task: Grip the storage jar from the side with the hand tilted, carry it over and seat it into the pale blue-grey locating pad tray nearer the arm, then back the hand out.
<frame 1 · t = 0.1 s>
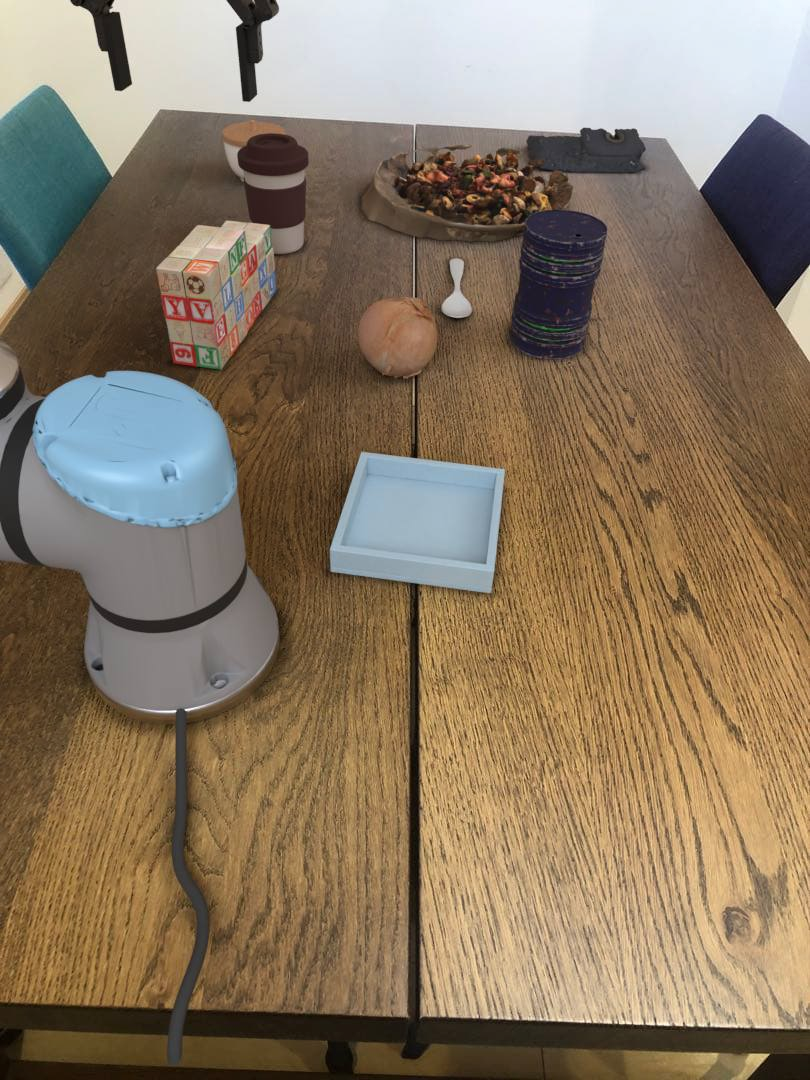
hand: (186, 93, 85), 28 cm above the table, tool pointing down, fingers open, 13 cm apart
trinket box: (257, 179, 144), on the table
stack of blocks: (229, 326, 106), on the table
coffee cup: (279, 246, 124), on the table
food dish: (464, 205, 138), on the table
pad tray: (421, 528, 79), on the table
spoon: (456, 292, 115), on the table
dark slate chunk: (583, 159, 157), on the table
onion: (396, 370, 100), on the table
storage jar: (546, 341, 106), on the table
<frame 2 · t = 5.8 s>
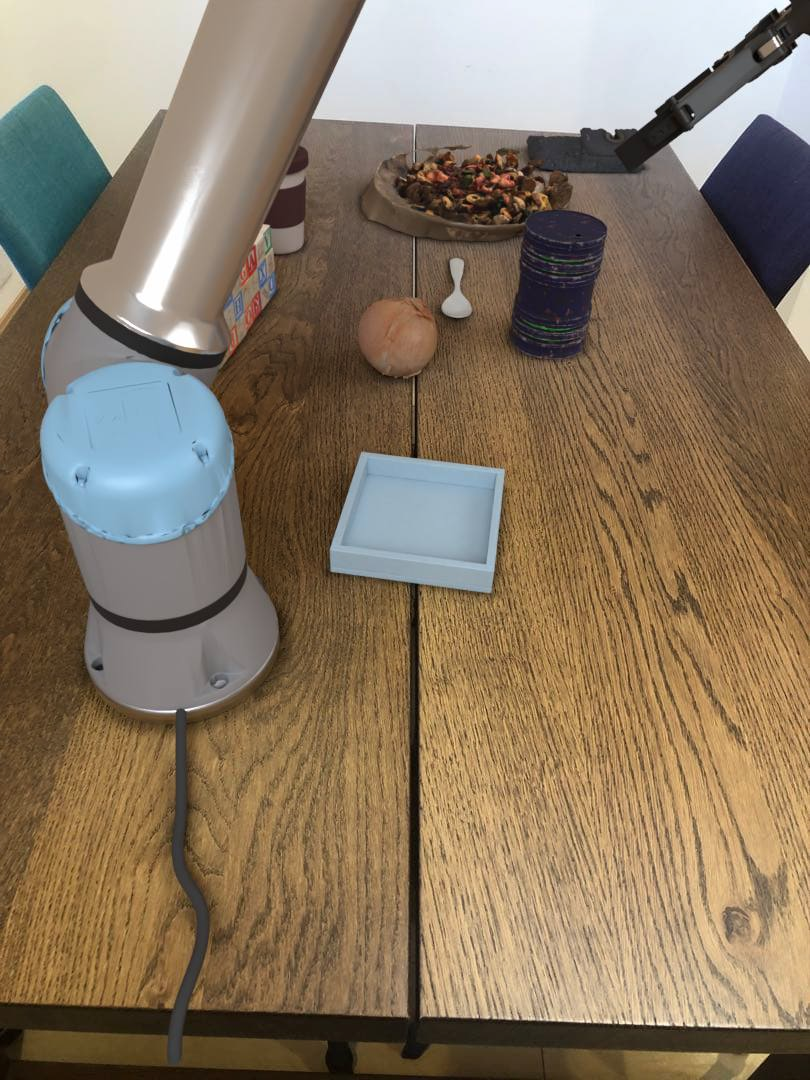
hand: (642, 140, 85), 26 cm above the table, tool tilted 45°, fingers open, 13 cm apart
nothing on the table moved.
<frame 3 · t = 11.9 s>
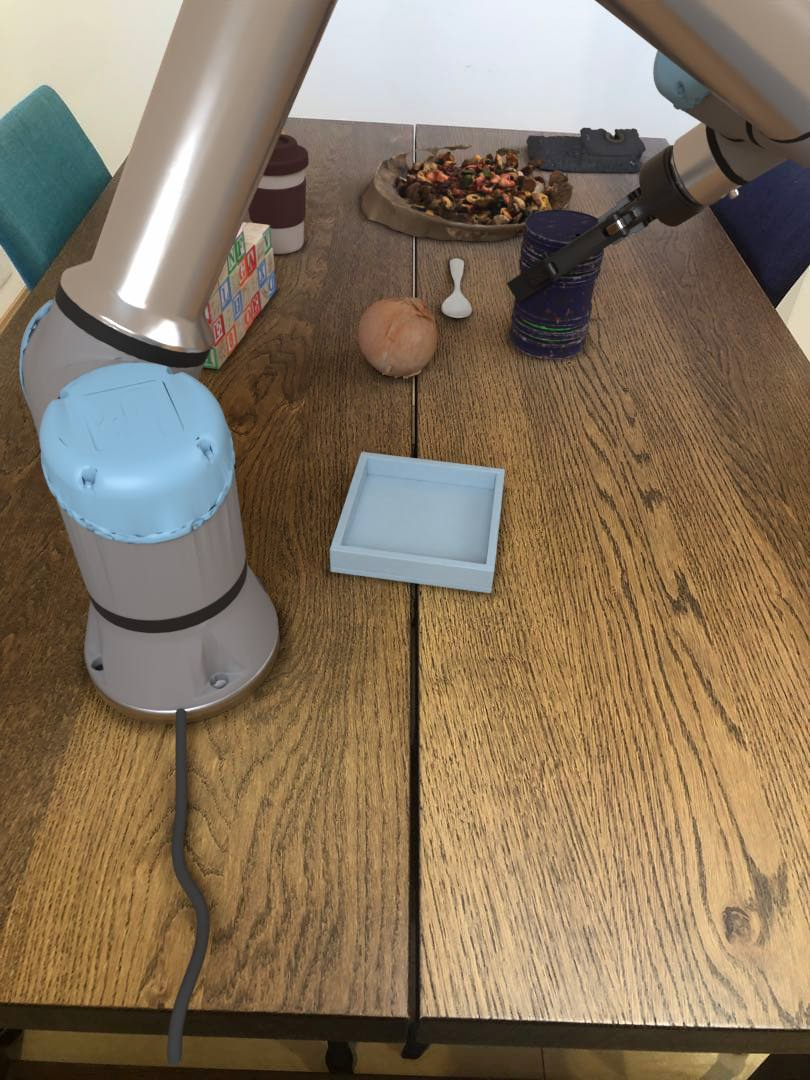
hand: (534, 276, 102), 8 cm above the table, tool tilted 45°, fingers closed on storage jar, 10 cm apart
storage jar: (546, 341, 106), on the table, touching gripper
everything else where it was.
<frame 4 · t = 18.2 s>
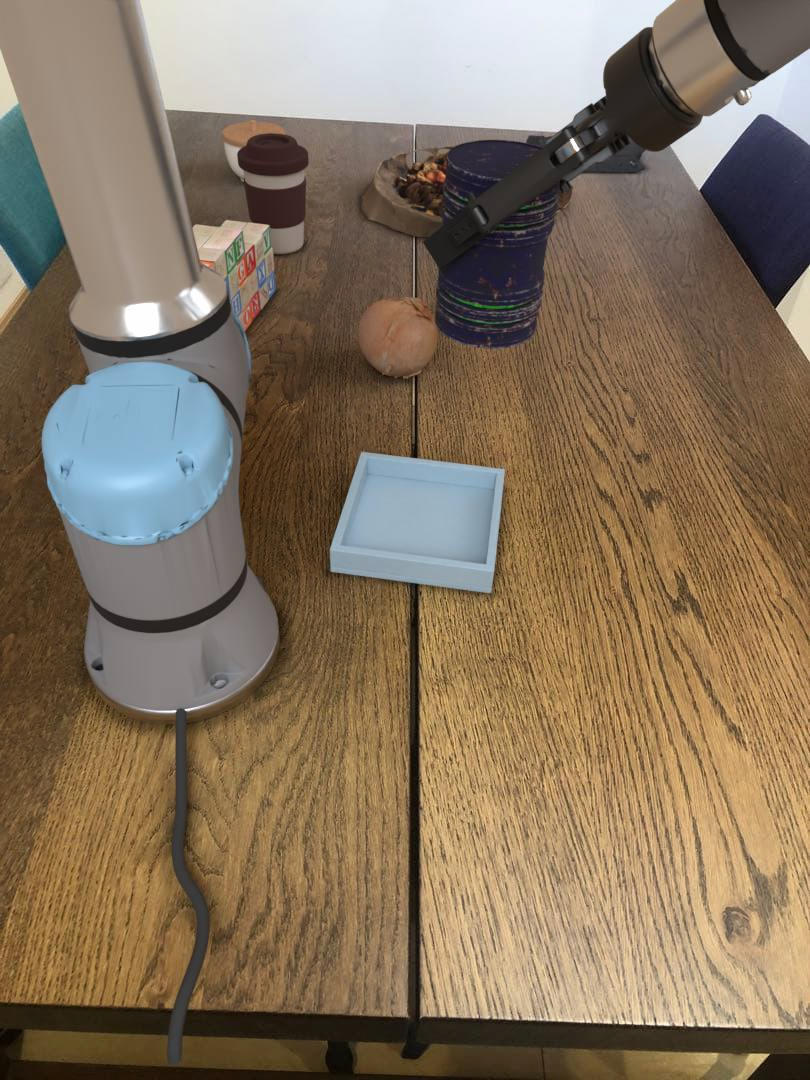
hand: (465, 234, 74), 23 cm above the table, tool tilted 45°, fingers closed on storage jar, 10 cm apart
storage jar: (485, 324, 78), point 15 cm above the table, touching gripper
everything else where it was.
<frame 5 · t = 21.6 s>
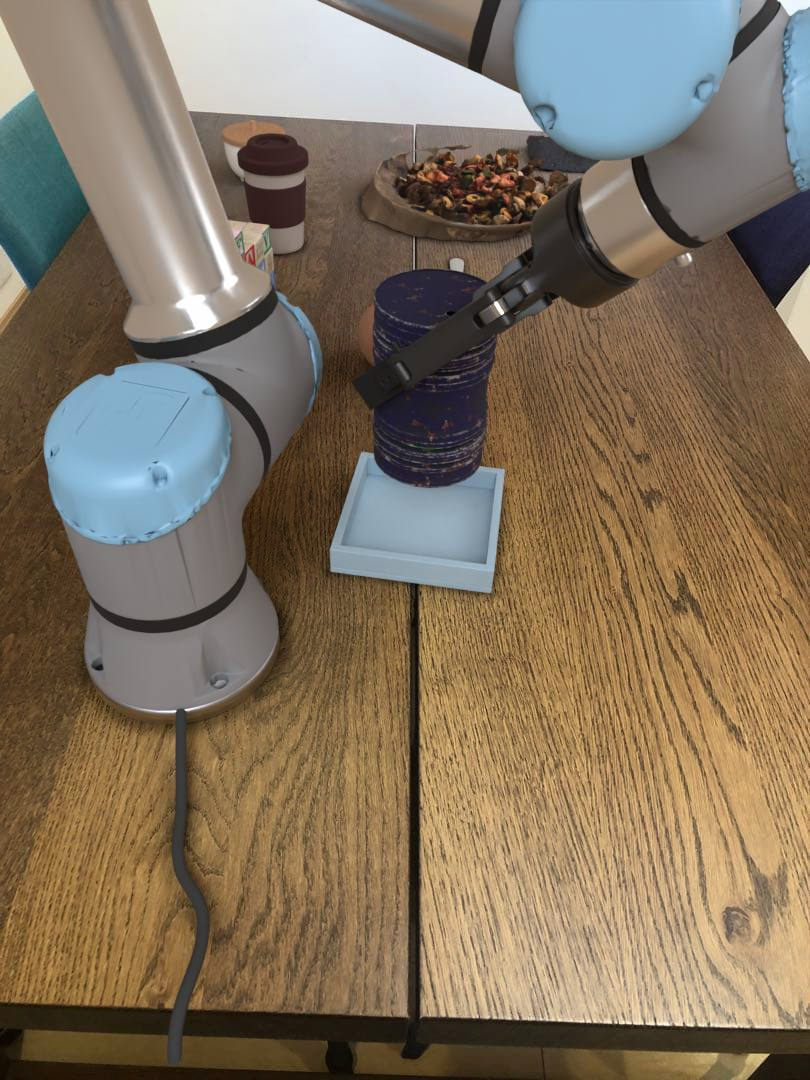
hand: (401, 366, 68), 17 cm above the table, tool tilted 45°, fingers closed on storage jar, 10 cm apart
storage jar: (427, 455, 73), point 9 cm above the table, touching gripper
everything else where it was.
when the fingers open (8 cm above the table, at t = 24.5 s): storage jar stays where it is, resting on pad tray.
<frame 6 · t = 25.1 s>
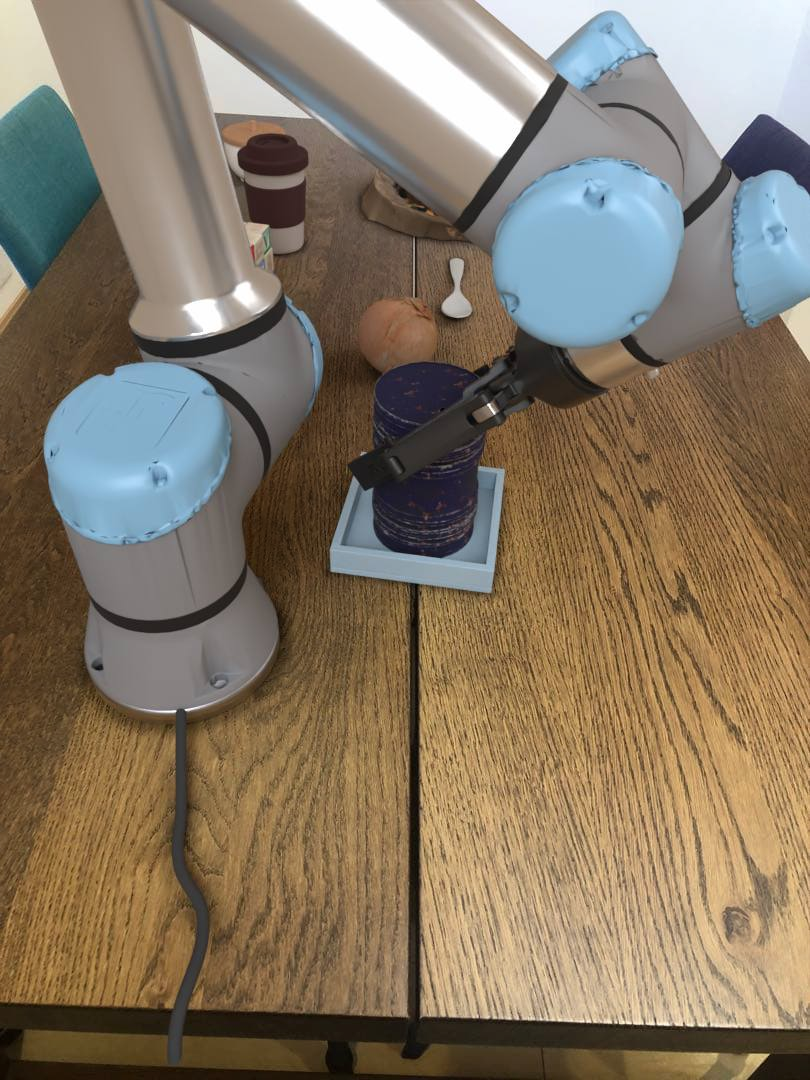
hand: (404, 438, 73), 10 cm above the table, tool tilted 45°, fingers open, 13 cm apart
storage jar: (423, 526, 78), resting on pad tray
everything else where it was.
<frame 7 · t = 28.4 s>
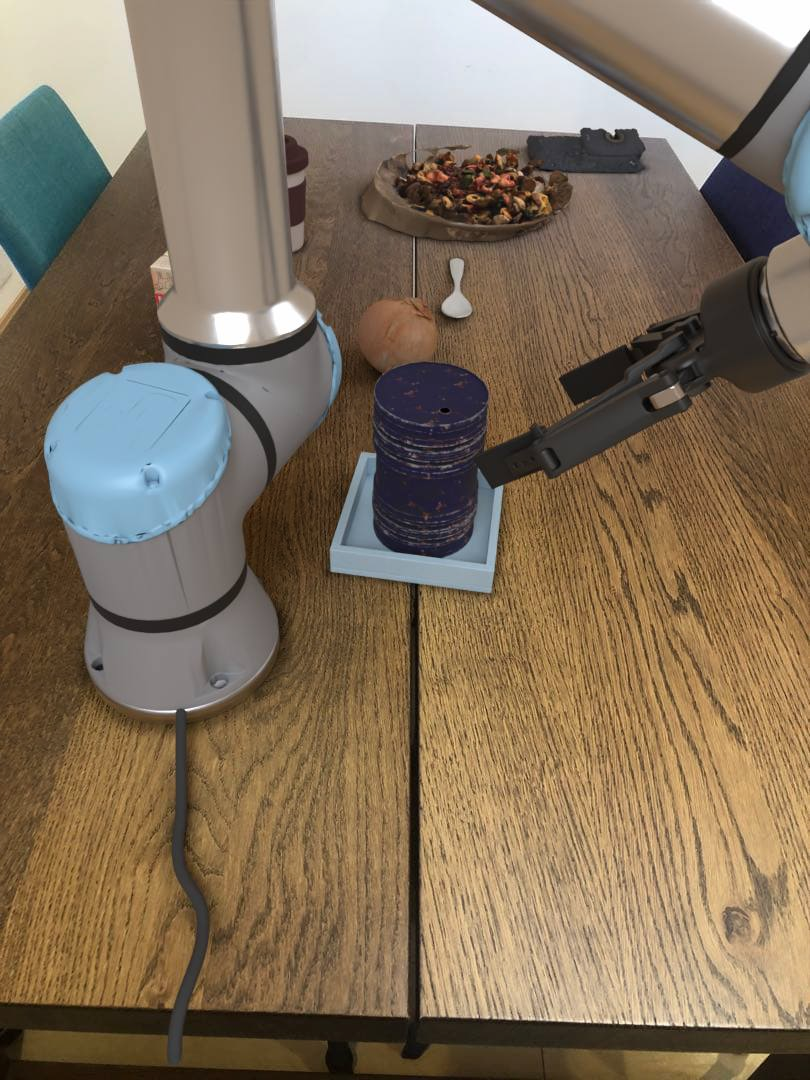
hand: (528, 428, 64), 16 cm above the table, tool tilted 45°, fingers open, 13 cm apart
nothing on the table moved.
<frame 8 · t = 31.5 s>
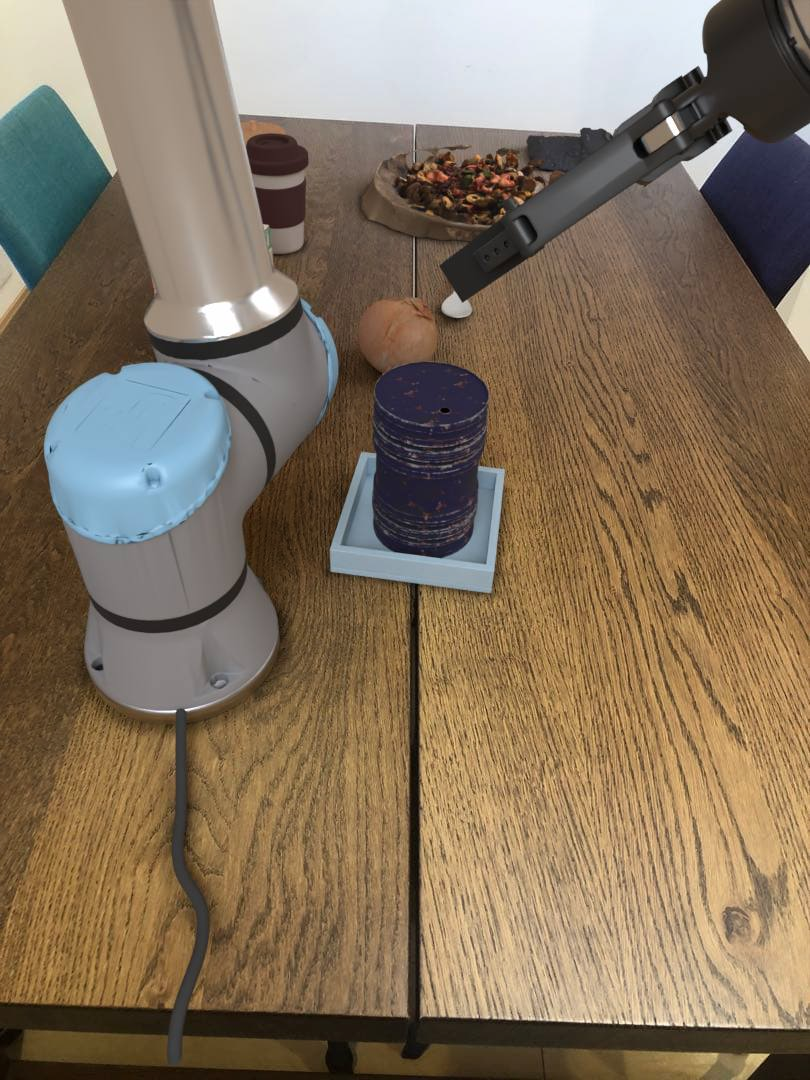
hand: (506, 247, 56), 30 cm above the table, tool tilted 45°, fingers open, 13 cm apart
nothing on the table moved.
at the end: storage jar 0.2 cm off-centre in the pad tray, point 0.4 cm above the pad tray's base; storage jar tilted 0°; the gripper is holding nothing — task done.
